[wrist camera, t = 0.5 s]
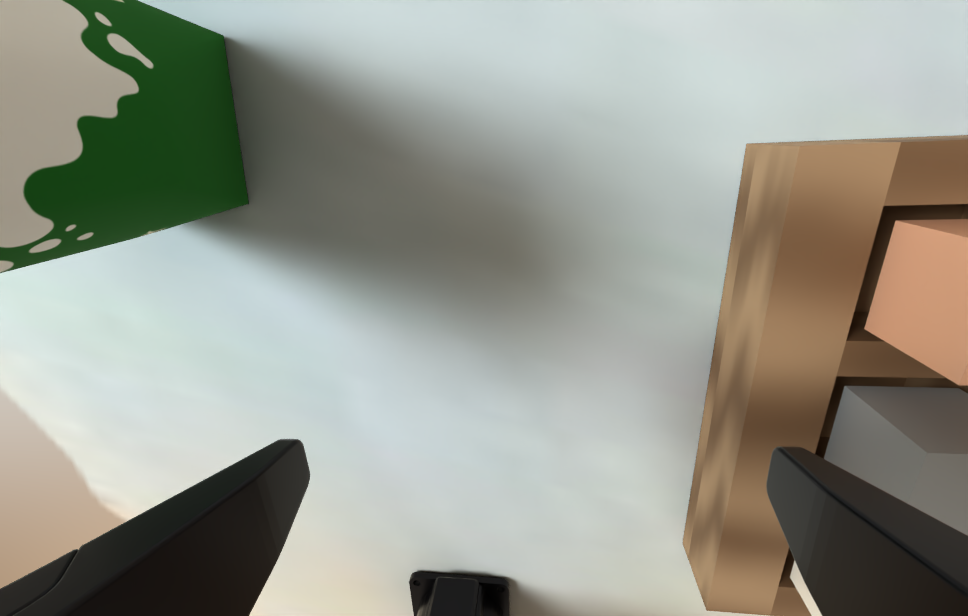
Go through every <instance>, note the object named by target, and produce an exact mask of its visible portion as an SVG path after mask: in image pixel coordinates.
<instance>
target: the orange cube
mask: <svg viewBox="0 0 968 616" xmlns="http://www.w3.org/2000/svg"><path fill="white" fill-rule="evenodd" d="M864 329H865V330H867V331H868V332H870V333H872V334H873V335H875V336H877V337H879V338H880V339H882V340H884V341H885V342H887V343H889V344H890V345H892V346H894V347H895V348H897V349H899V350H900V351H902V352H904V353H905V354H907V355H909V356H911V357H912V358H914V359H916V360H917V361H919V362H921V363H922V364H924V365H926V366H927V367H929V368H931V369H932V370H934V371H936V372H937V373H939V374H941V375H943V376H944V377H946V378H948V379H949V380H951V381H953V382H954V383H956V384H958V385H967V386H968V219H947V220H896V221H895V224H894V228H893V231H892V235H891V238H890V242H889V245H888V249H887V252H886V256H885V259H884V262H883V266H882V269H881V273H880V276H879V280H878V283H877V287H876V290H875V294H874V297H873V300H872V304H871V307H870V311H869V314H868V318H867V321H866V325H865V328H864Z"/></svg>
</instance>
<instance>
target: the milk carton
mask: <svg viewBox="0 0 968 616" xmlns="http://www.w3.org/2000/svg"><path fill="white" fill-rule="evenodd" d="M246 204H249V202H248V196H247V189H246V182H245V176H244V169H243V162H242V156H241V149H240V142H239V136H238V129H237V122H236V116H235V109H234V102H233V96H232V89H231V82H230V76H229V69H228V62H227V56H226V49H225V42H224V36H223V35H221V34H218V33H216V32H213V31H211V30H208V29H206V28H203V27H201V26H198V25H196V24H193V23H191V22H189V21H186V20H184V19H181V18H179V17H176V16H174V15H172V14H169V13H167V12H164V11H162V10H159V9H157V8H154V7H152V6H150V5H147V4H145V3H142V2H140V1H137V0H0V273H2V272H6V271H10V270H14V269H18V268H22V267H26V266H29V265H33V264H37V263H41V262H45V261H49V260H53V259H57V258H60V257H64V256H68V255H72V254H76V253H80V252H84V251H87V250H91V249H95V248H99V247H103V246H107V245H111V244H114V243H118V242H122V241H126V240H130V239H133V238H137V237H140V236H144V235H147V234H151V233H154V232H158V231H161V230H164V229H168V228H171V227H174V226H177V225H181V224H184V223H187V222H190V221H194V220H197V219H200V218H203V217H207V216H210V215H213V214H216V213H220V212H223V211H226V210H230V209H233V208H236V207H239V206H243V205H246Z"/></svg>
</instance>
